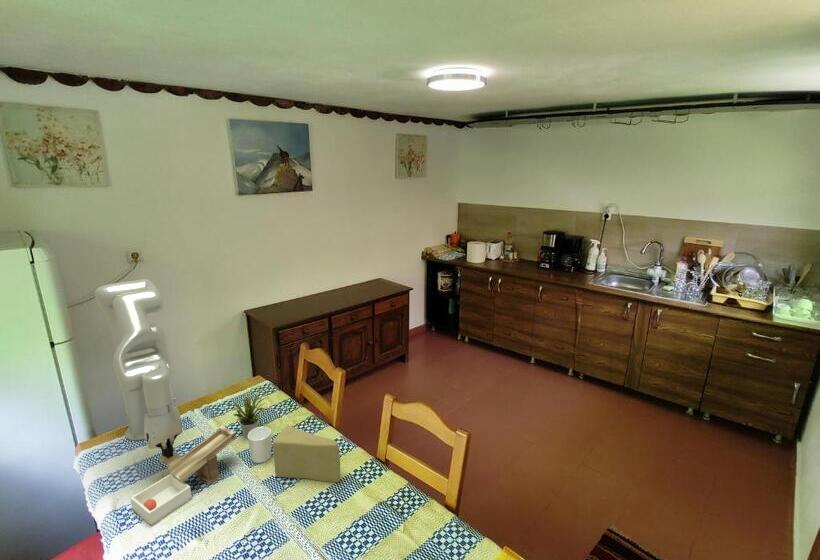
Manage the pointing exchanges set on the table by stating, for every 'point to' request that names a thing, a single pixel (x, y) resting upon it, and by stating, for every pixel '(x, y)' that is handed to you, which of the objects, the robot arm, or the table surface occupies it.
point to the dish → (161, 498)
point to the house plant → (248, 415)
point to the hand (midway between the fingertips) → (168, 455)
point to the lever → (198, 454)
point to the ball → (150, 504)
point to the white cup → (260, 444)
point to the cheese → (306, 456)
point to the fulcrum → (209, 470)
